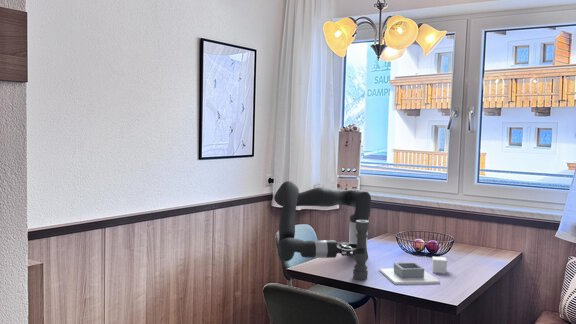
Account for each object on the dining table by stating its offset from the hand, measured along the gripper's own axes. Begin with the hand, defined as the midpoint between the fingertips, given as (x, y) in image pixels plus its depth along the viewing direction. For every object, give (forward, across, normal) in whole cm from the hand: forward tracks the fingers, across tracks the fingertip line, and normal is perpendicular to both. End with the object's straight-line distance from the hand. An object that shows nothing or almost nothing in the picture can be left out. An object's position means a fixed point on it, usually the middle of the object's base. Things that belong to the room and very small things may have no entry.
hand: (361, 248), depth 225 cm
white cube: (+40, +8, +13) cm, 43 cm away
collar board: (+22, 0, +13) cm, 26 cm away
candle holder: (0, 0, +13) cm, 13 cm away
